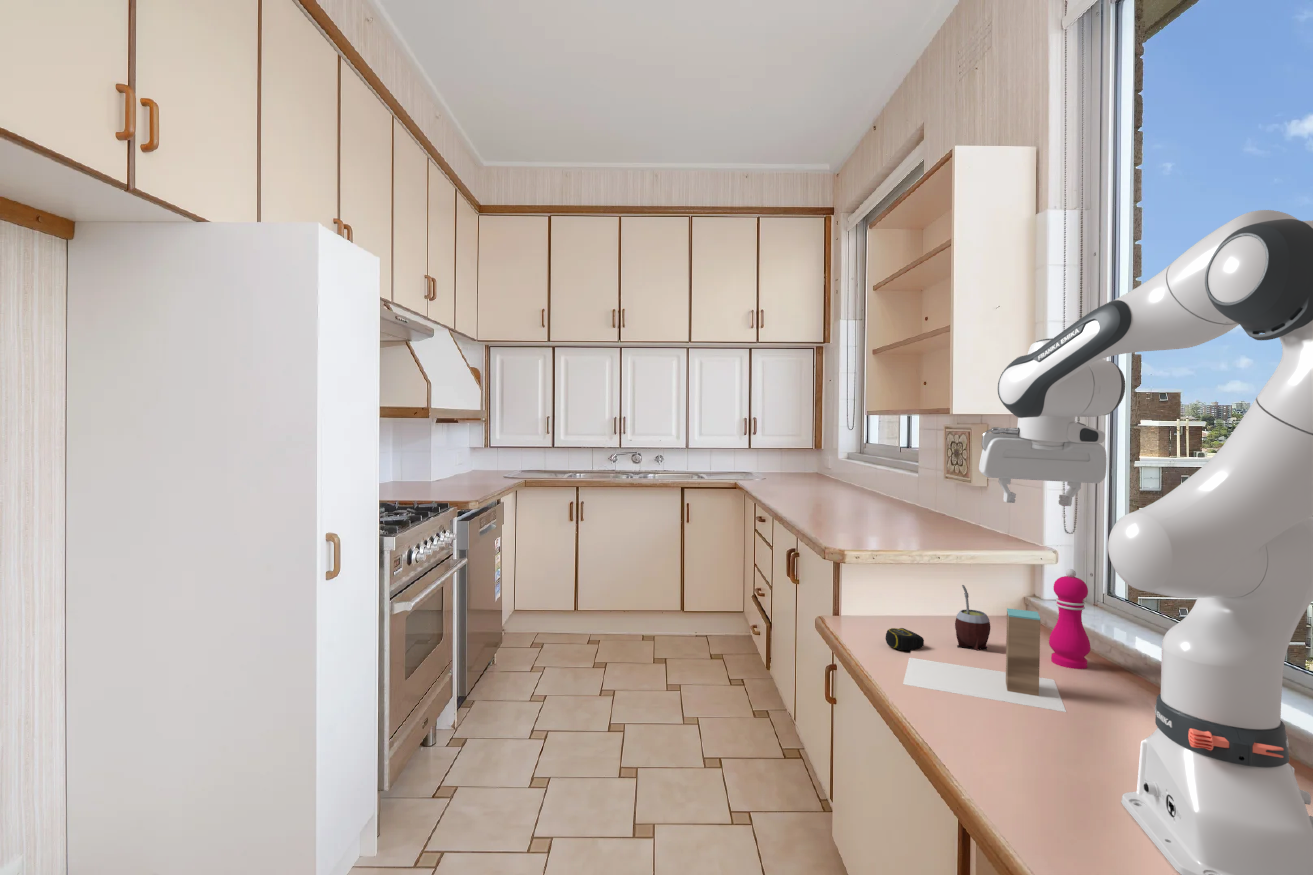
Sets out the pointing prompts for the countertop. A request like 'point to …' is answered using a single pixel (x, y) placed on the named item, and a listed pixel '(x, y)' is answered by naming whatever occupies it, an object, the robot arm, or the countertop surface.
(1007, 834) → the countertop surface
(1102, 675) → the countertop surface
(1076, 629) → the pepper mill
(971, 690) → the white flat rectangular panel
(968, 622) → the mate gourd
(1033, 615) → the walnut block
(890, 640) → the tape measure
